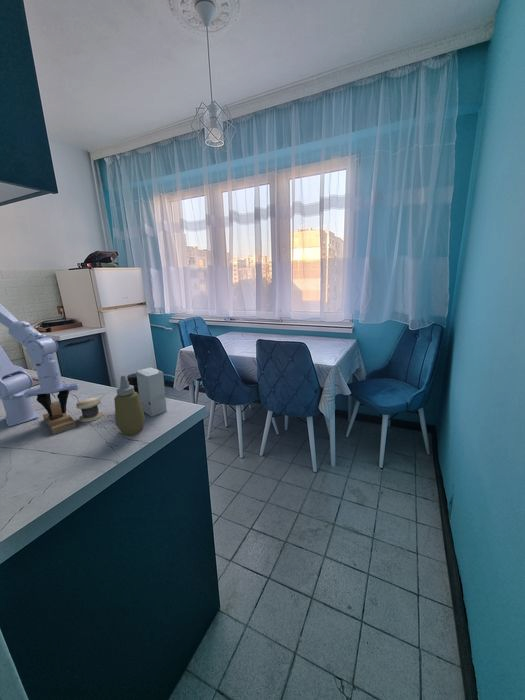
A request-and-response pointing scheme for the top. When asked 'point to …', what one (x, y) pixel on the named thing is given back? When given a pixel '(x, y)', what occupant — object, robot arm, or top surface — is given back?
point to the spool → (89, 409)
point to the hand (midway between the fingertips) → (58, 413)
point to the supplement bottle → (133, 381)
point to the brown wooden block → (56, 410)
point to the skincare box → (151, 391)
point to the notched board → (59, 423)
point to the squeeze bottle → (128, 409)
